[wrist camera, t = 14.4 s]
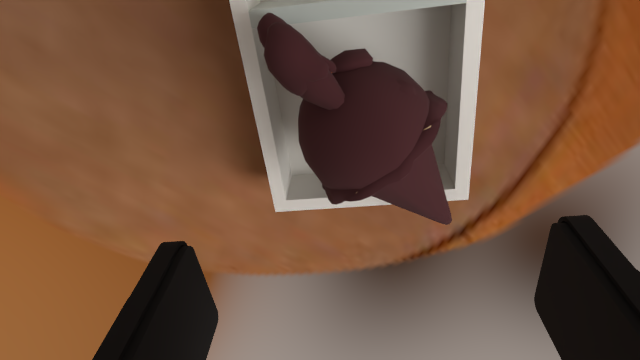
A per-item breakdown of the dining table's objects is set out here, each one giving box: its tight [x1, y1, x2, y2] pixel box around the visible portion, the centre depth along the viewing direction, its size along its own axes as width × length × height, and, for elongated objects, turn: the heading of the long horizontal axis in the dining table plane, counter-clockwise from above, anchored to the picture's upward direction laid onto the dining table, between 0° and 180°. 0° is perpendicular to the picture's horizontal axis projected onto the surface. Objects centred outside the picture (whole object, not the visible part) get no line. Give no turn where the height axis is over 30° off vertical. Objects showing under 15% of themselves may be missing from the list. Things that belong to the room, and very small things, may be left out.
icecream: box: [257, 13, 452, 225], centre depth 20 cm, size 7×7×15 cm
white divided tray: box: [229, 0, 485, 212], centre depth 20 cm, size 22×12×4 cm, turn 7°
